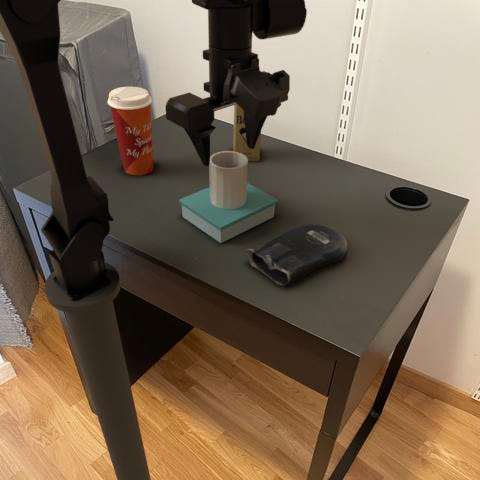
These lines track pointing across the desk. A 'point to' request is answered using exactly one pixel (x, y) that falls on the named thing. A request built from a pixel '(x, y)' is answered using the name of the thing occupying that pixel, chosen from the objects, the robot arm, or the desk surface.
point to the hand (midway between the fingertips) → (229, 156)
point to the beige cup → (228, 179)
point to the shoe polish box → (243, 137)
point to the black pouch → (298, 252)
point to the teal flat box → (227, 213)
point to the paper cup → (133, 128)
